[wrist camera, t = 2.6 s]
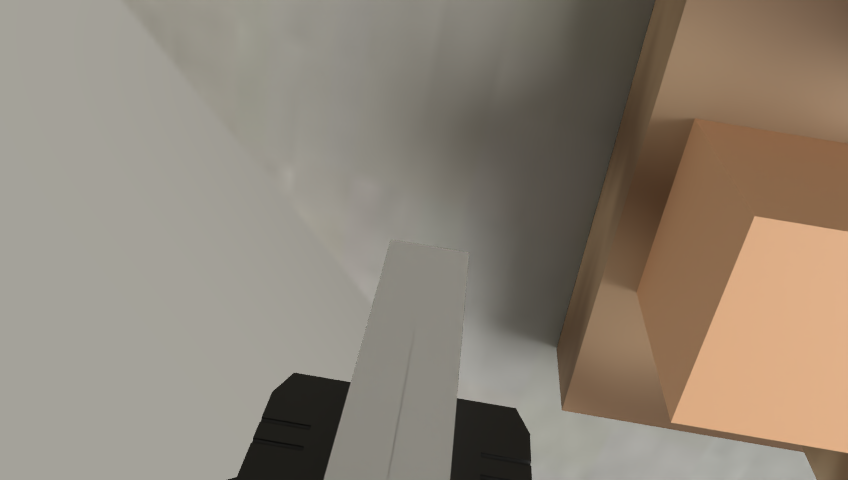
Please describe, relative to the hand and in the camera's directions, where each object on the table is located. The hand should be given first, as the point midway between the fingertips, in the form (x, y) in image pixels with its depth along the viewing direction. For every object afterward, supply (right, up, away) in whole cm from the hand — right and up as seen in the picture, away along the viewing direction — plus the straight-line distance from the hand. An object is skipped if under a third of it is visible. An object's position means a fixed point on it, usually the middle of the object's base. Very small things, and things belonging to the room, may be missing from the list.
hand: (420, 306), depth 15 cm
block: (+9, +2, +4) cm, 10 cm away
